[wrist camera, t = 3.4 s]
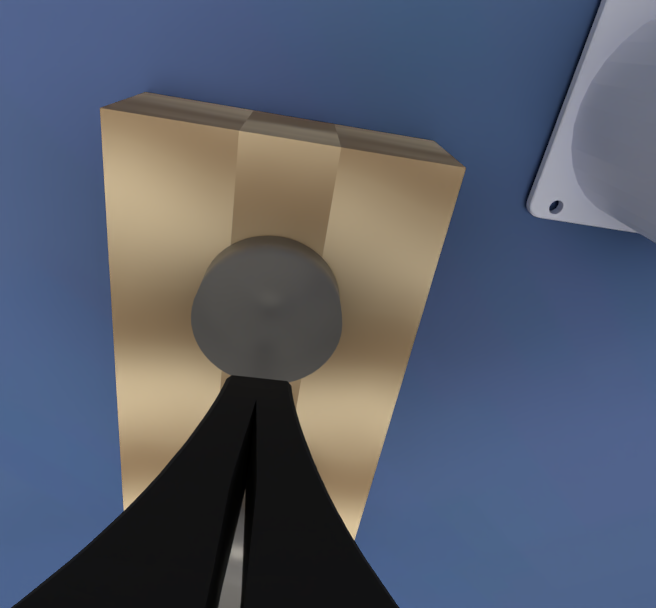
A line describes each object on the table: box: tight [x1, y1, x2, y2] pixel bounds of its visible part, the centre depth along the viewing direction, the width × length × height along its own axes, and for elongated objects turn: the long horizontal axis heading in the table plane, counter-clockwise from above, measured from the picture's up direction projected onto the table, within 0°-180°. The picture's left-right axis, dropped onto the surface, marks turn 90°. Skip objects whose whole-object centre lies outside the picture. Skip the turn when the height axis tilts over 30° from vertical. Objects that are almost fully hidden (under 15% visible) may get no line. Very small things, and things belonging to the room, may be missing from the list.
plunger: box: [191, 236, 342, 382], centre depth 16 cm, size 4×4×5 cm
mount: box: [100, 92, 466, 540], centre depth 21 cm, size 26×10×4 cm, turn 171°
